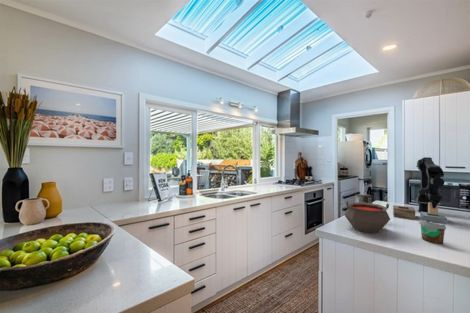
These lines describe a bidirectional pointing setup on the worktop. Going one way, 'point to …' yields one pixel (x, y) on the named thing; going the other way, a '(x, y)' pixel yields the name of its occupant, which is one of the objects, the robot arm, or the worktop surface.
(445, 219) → the frame
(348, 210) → the faceted brown planter
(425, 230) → the food container
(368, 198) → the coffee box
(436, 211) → the plug
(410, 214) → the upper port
